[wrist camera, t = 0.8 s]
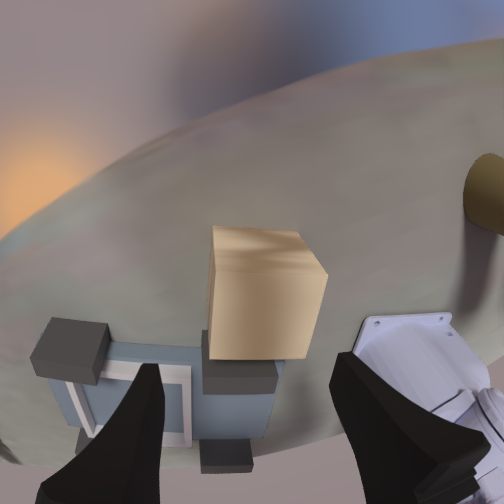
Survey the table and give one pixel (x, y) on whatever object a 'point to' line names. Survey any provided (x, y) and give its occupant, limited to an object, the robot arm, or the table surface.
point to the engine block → (261, 294)
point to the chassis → (174, 384)
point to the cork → (486, 193)
